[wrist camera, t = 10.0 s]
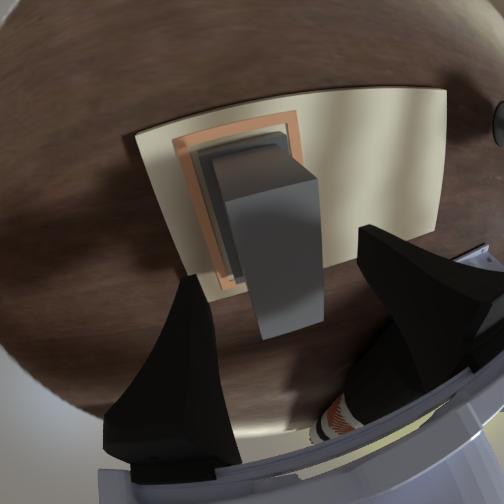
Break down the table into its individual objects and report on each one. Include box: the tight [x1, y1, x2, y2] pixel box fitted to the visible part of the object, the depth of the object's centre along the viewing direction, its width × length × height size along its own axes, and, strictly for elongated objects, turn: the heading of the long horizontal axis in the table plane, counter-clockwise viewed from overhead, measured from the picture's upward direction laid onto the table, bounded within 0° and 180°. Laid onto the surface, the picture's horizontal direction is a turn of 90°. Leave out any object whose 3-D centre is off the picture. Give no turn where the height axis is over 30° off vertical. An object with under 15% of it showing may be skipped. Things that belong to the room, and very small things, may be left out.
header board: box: [135, 86, 447, 302], centre depth 15 cm, size 20×12×5 cm, turn 101°
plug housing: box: [212, 144, 324, 340], centre depth 13 cm, size 3×8×5 cm, turn 11°
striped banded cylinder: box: [309, 320, 425, 445], centre depth 34 cm, size 10×34×10 cm, turn 169°
